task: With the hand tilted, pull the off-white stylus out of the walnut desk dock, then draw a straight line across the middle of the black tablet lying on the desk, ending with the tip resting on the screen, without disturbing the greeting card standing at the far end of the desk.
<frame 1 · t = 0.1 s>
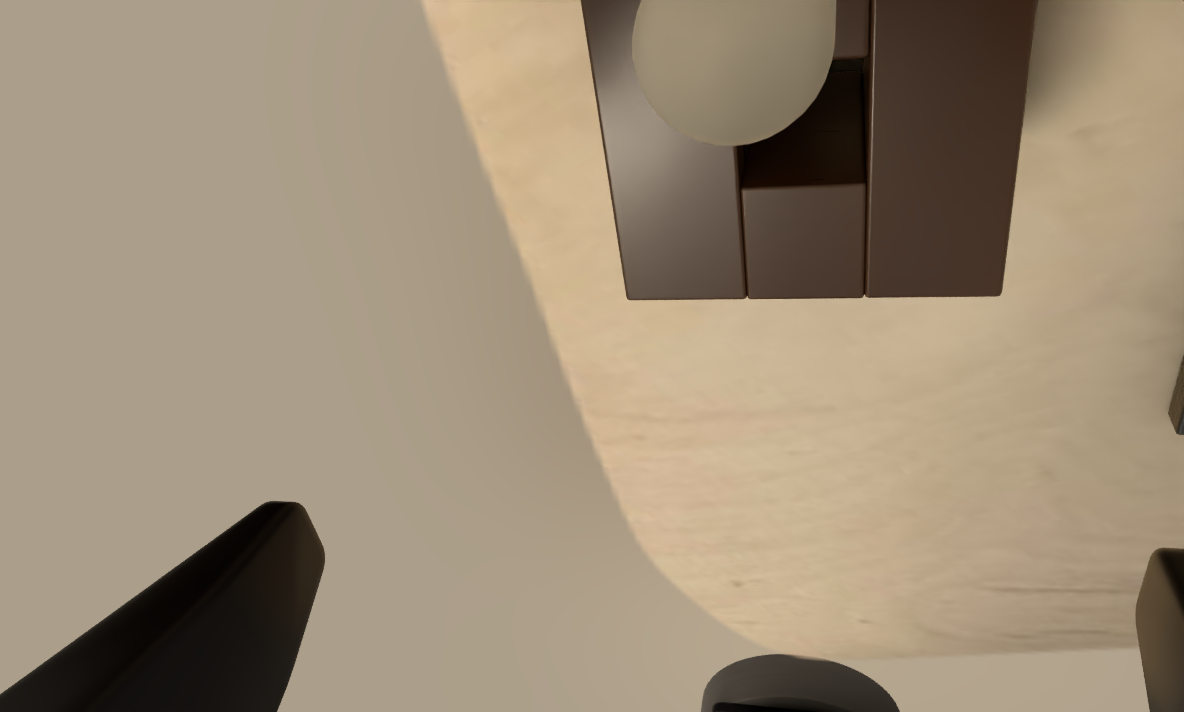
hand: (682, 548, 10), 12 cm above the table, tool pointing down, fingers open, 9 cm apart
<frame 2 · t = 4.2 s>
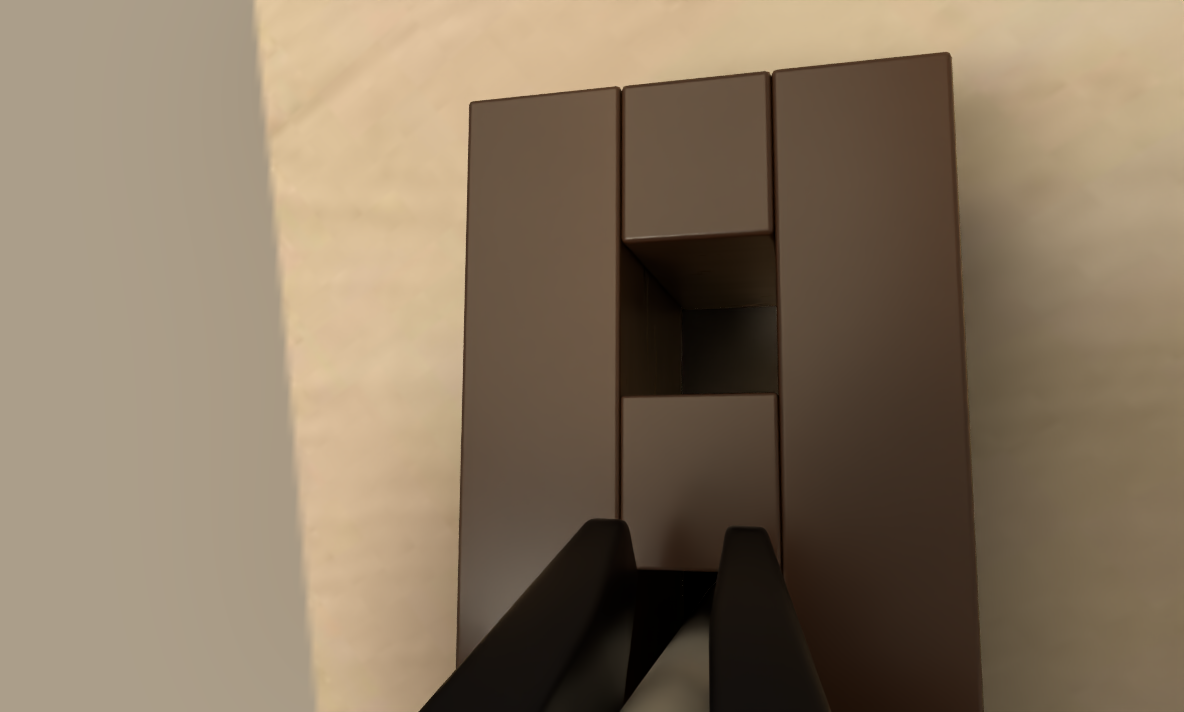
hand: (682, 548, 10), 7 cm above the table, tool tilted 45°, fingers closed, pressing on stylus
dock: (742, 605, 16), on the table
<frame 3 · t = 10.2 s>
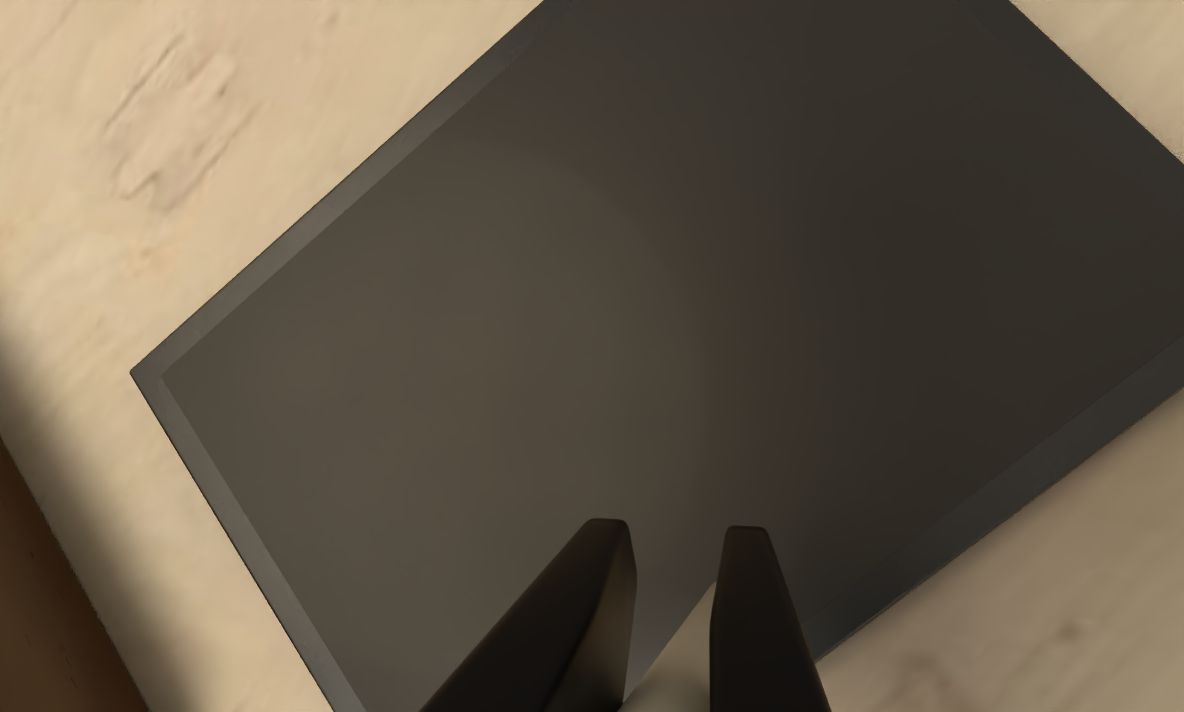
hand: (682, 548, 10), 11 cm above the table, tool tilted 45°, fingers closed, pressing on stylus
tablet: (635, 341, 22), on the table
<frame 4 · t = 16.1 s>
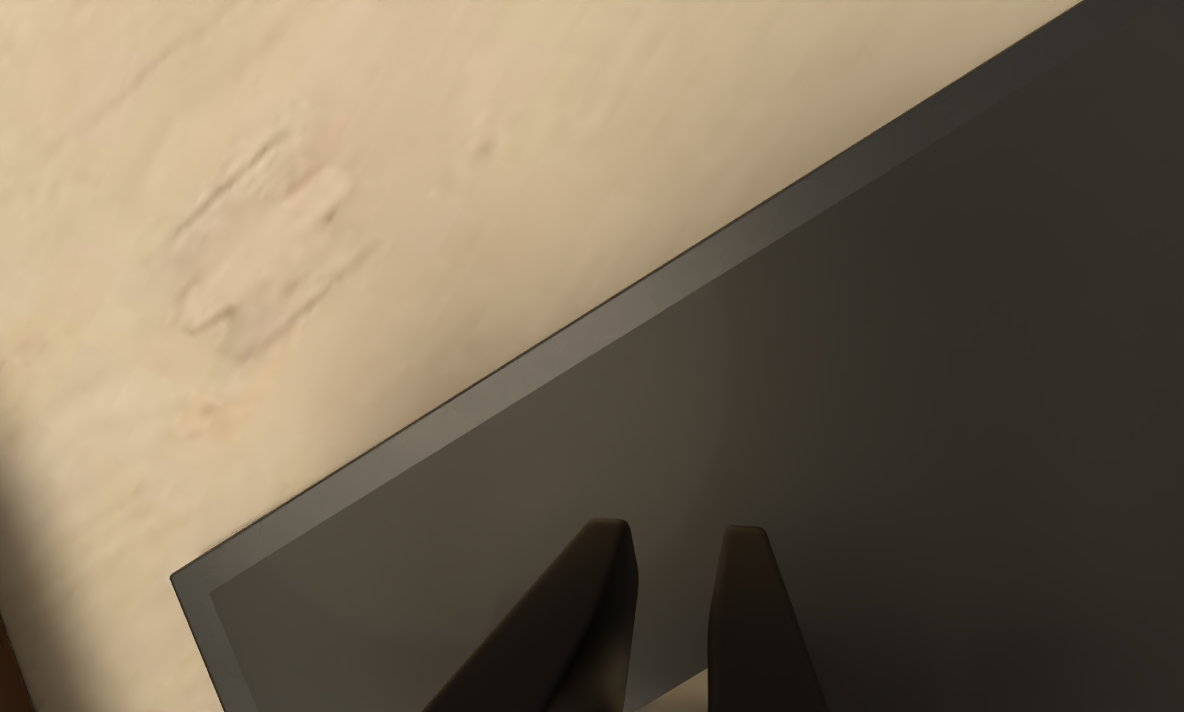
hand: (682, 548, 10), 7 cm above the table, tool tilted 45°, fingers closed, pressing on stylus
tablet: (854, 678, 16), on the table
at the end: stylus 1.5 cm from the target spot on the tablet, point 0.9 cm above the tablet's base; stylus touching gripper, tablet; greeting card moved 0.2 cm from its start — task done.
